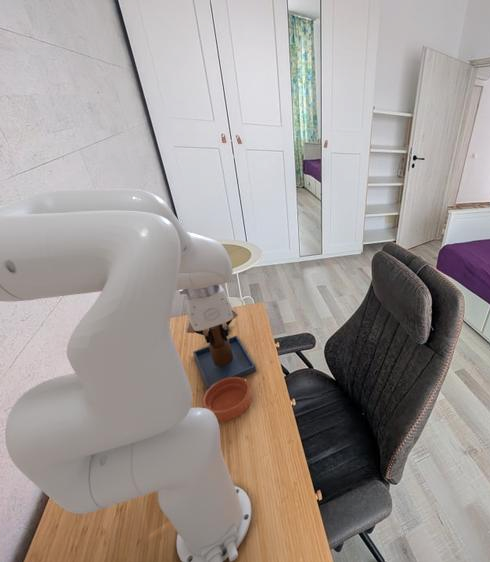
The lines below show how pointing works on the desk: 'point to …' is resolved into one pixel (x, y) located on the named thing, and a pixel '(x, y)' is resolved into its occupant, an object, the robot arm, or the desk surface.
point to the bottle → (220, 347)
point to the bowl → (228, 398)
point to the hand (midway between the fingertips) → (218, 340)
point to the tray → (236, 368)
